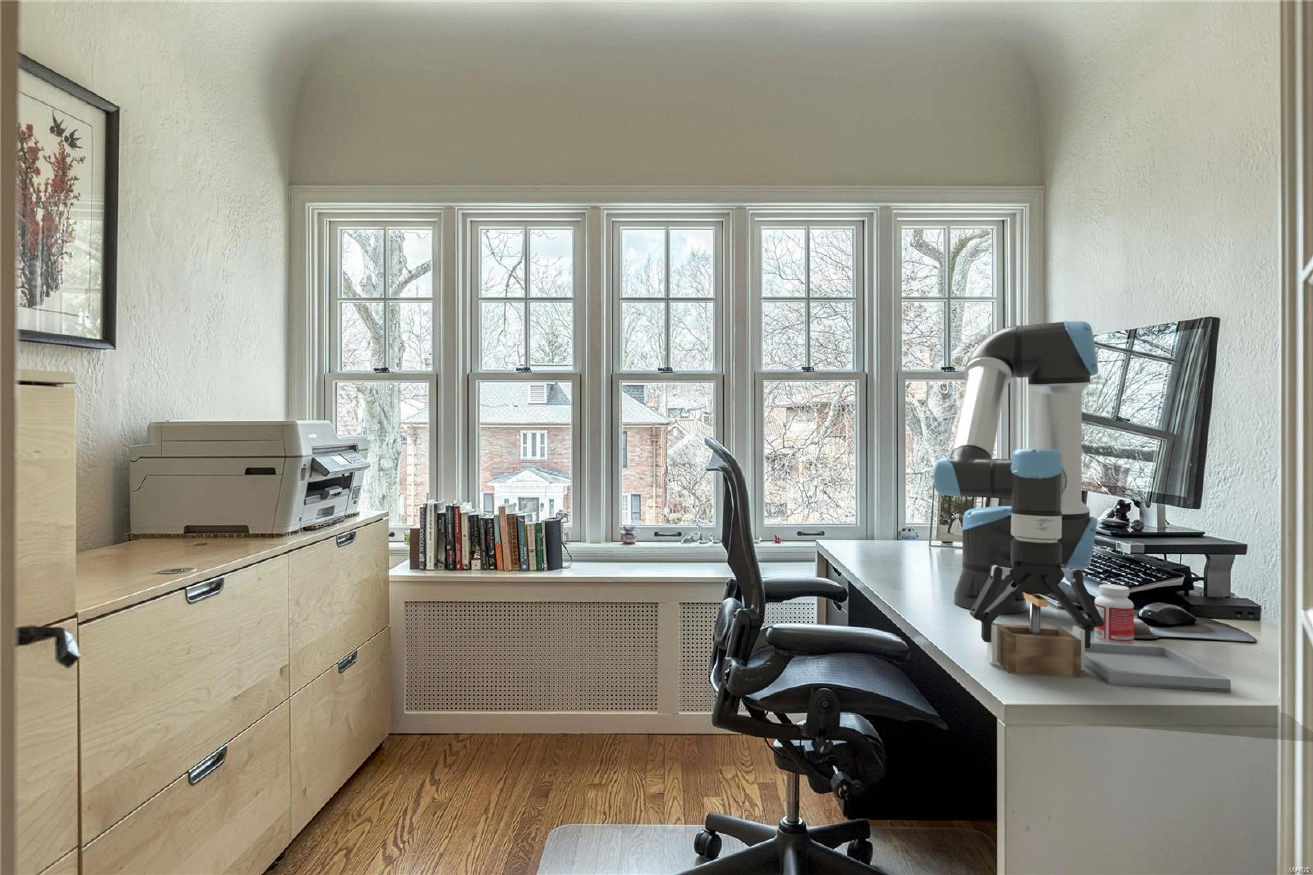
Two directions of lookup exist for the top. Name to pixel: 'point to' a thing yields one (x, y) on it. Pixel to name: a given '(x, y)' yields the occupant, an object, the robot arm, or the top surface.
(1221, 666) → the top surface
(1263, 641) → the top surface
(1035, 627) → the t-shaped peg
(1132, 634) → the pill bottle
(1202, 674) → the tray
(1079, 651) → the brown wooden open box
